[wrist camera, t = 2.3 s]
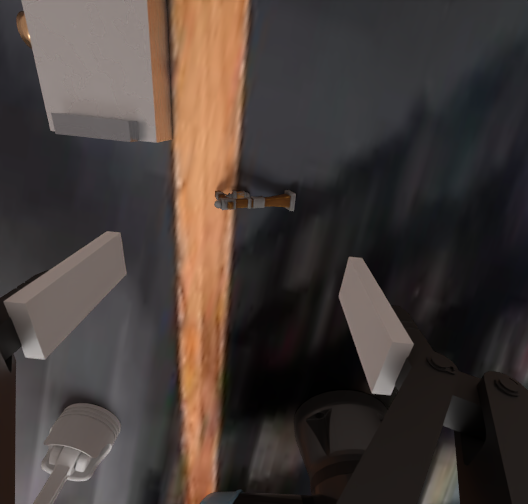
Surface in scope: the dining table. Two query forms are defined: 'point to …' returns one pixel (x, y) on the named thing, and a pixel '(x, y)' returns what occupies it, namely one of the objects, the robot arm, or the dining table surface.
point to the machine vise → (102, 66)
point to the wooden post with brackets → (253, 200)
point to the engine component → (76, 446)
